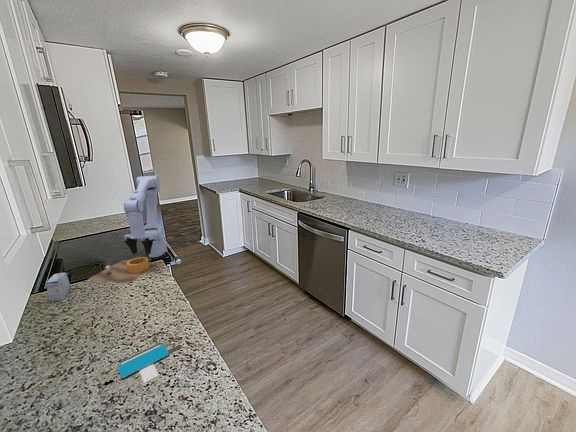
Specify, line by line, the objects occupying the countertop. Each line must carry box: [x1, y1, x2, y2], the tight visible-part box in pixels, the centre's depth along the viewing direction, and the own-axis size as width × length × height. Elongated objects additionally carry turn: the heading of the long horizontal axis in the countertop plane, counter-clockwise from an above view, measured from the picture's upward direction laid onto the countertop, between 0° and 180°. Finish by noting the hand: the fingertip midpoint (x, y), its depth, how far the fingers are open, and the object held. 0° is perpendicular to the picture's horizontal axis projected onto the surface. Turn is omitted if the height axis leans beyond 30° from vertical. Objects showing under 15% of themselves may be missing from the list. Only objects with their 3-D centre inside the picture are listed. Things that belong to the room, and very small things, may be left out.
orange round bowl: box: [126, 256, 150, 273], centre depth 128 cm, size 9×9×4 cm
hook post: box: [104, 264, 112, 275], centre depth 123 cm, size 2×2×4 cm
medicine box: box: [45, 272, 72, 302], centre depth 109 cm, size 8×4×9 cm, turn 21°
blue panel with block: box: [117, 342, 182, 384], centre depth 74 cm, size 20×12×2 cm, turn 130°
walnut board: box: [87, 259, 160, 284], centre depth 127 cm, size 20×22×2 cm
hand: (141, 253), depth 125 cm, fingers open, 7 cm apart
